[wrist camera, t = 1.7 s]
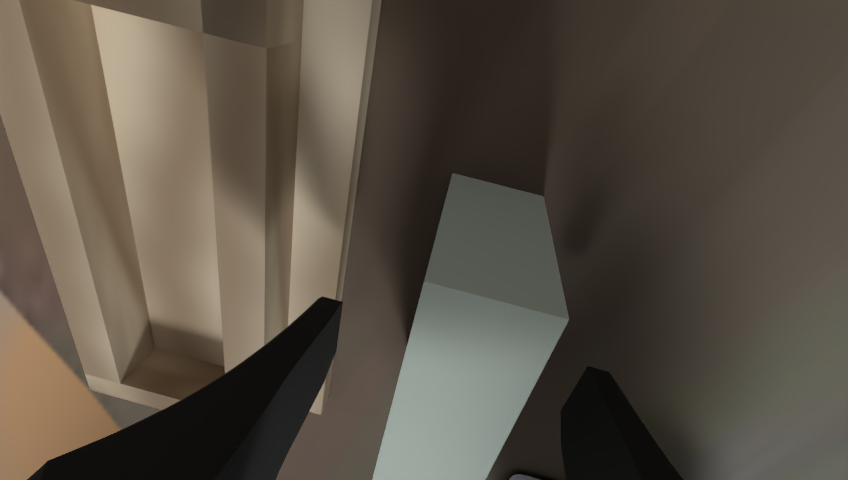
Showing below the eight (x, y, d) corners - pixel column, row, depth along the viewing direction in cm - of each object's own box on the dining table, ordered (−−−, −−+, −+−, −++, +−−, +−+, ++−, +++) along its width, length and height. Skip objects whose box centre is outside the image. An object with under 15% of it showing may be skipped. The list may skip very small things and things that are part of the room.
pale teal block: (543, 195, 14) (569, 319, 8) (476, 364, 18) (466, 514, 13) (452, 172, 14) (424, 281, 9) (407, 345, 18) (370, 487, 13)
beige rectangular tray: (382, -9, 11) (349, -8, 9) (328, 397, 20) (303, 455, 18) (-8, -105, 12) (-151, -132, 9) (109, 336, 20) (53, 386, 18)
